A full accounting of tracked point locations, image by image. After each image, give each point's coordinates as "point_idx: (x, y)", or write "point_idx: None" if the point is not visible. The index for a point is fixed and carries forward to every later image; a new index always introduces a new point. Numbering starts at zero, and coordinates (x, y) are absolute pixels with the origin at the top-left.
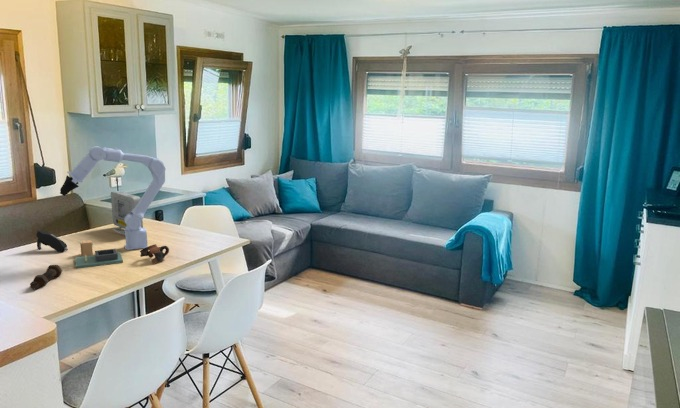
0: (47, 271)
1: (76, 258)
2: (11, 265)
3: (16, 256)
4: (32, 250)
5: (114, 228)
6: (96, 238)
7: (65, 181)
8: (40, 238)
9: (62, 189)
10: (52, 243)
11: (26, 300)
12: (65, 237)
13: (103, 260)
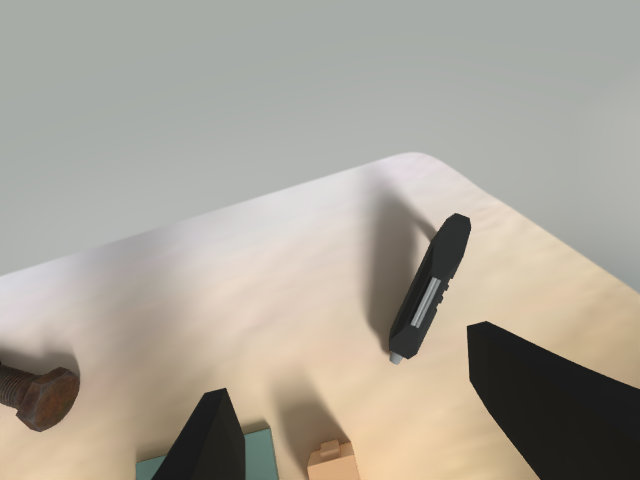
0: (6, 385)
1: (247, 439)
2: (254, 213)
3: (356, 196)
4: (426, 224)
5: None
6: None
7: (624, 441)
8: (434, 238)
9: (172, 453)
10: (407, 296)
11: None
12: (622, 295)
13: None
